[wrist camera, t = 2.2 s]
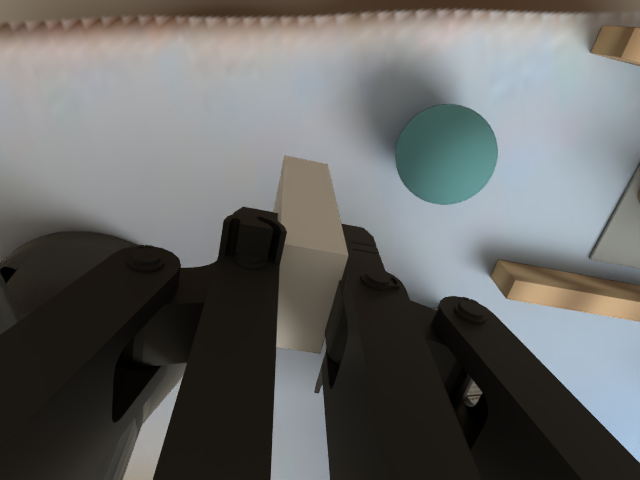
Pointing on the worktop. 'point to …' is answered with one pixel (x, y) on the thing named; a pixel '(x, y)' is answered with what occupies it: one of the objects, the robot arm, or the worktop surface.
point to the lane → (571, 287)
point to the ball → (446, 154)
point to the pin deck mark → (622, 230)
